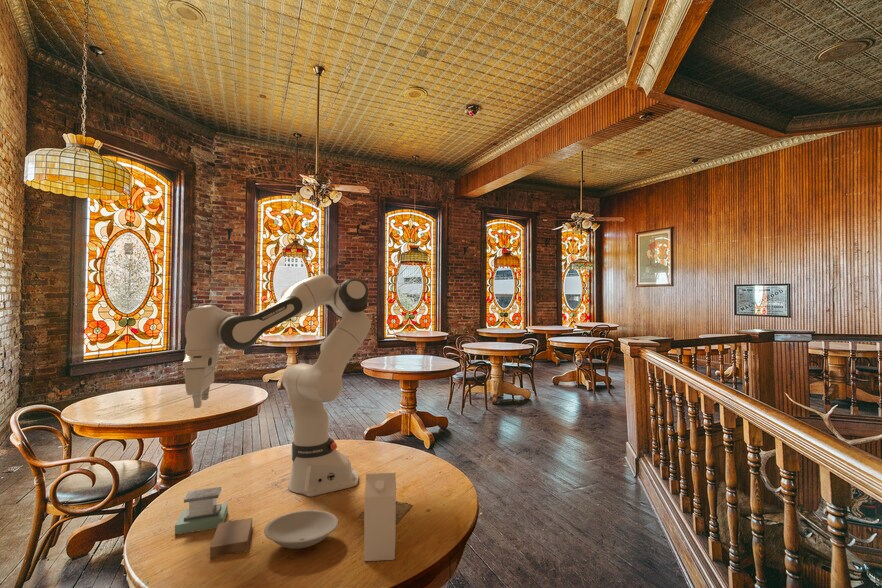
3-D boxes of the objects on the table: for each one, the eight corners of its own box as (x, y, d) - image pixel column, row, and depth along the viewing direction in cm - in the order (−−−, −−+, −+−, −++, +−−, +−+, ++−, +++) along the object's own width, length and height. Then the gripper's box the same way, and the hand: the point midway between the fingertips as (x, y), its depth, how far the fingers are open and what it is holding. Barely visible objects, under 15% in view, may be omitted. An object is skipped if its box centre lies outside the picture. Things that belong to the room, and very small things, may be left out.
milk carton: (366, 543, 102) (367, 467, 102) (395, 542, 102) (395, 466, 102) (363, 562, 95) (364, 480, 95) (394, 560, 95) (395, 479, 95)
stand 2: (252, 527, 109) (252, 517, 109) (247, 551, 98) (247, 541, 98) (218, 532, 106) (218, 523, 106) (209, 558, 96) (209, 547, 96)
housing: (188, 511, 112) (188, 491, 112) (221, 506, 114) (221, 486, 114) (183, 521, 107) (183, 499, 107) (217, 515, 110) (218, 495, 110)
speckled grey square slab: (356, 519, 113) (356, 515, 113) (378, 499, 125) (378, 496, 125) (394, 528, 109) (394, 524, 109) (413, 506, 121) (413, 503, 121)
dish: (254, 565, 93) (254, 544, 93) (274, 530, 107) (274, 511, 107) (332, 562, 95) (332, 540, 95) (342, 527, 109) (342, 508, 109)
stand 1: (227, 512, 116) (227, 503, 116) (222, 527, 109) (222, 517, 109) (183, 519, 112) (183, 509, 112) (174, 534, 105) (174, 525, 105)
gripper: (198, 354, 133) (197, 396, 133) (180, 363, 113) (180, 413, 113) (219, 353, 135) (219, 394, 135) (206, 362, 115) (205, 411, 115)
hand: (201, 403), depth 124 cm, fingers open, 8 cm apart
